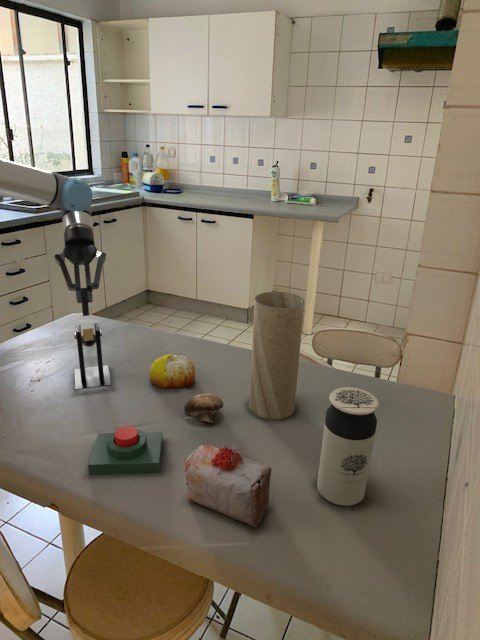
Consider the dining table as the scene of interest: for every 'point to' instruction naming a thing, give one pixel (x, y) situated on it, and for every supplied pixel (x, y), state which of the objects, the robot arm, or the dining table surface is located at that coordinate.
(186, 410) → the mushroom
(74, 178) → the robot arm
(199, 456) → the food item
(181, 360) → the fruit
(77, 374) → the bracket
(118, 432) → the button
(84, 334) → the lever
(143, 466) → the button box
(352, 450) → the travel mug
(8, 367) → the dining table surface
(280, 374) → the tube
